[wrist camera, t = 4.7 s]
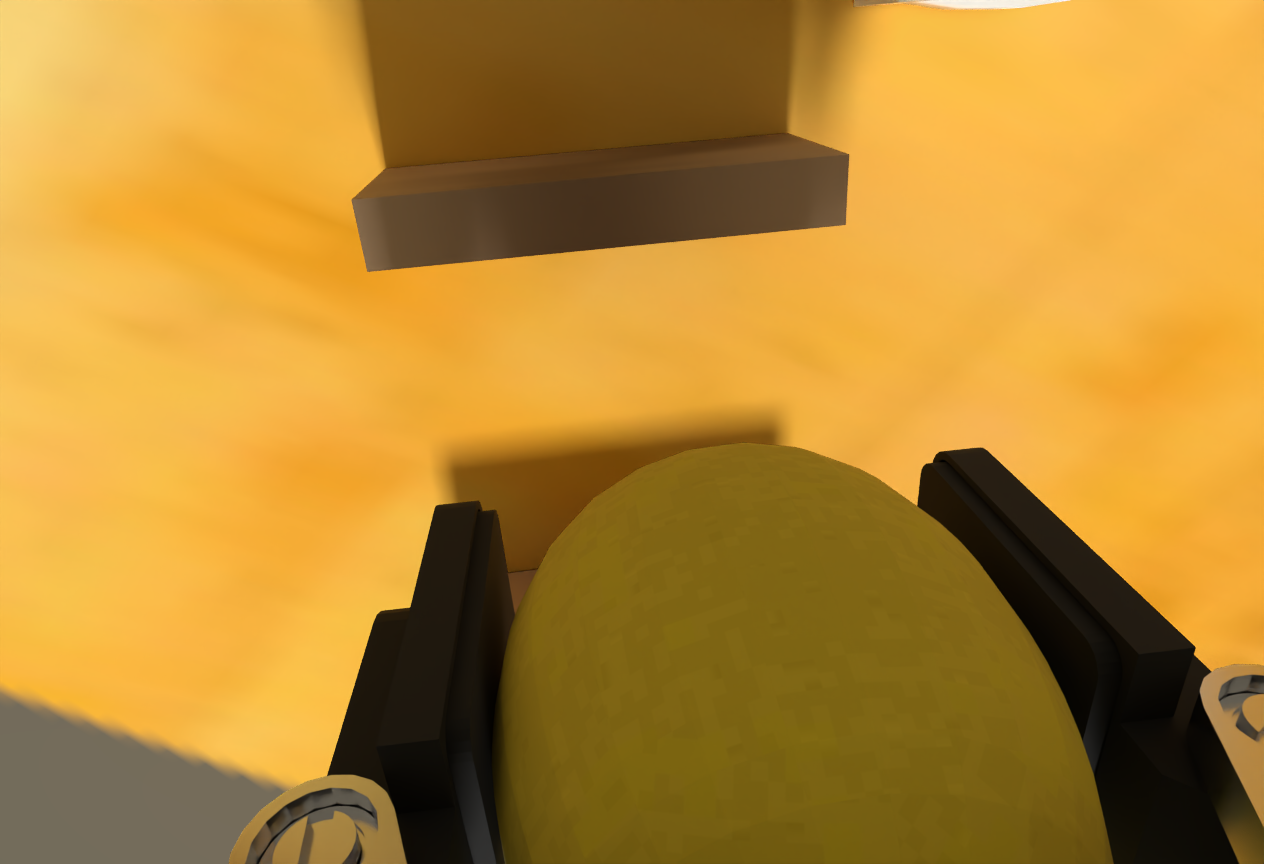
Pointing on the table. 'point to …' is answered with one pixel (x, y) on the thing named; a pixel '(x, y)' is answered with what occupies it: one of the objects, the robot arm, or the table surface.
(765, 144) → the rack
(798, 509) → the lemon
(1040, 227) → the table surface
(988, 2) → the saucer
